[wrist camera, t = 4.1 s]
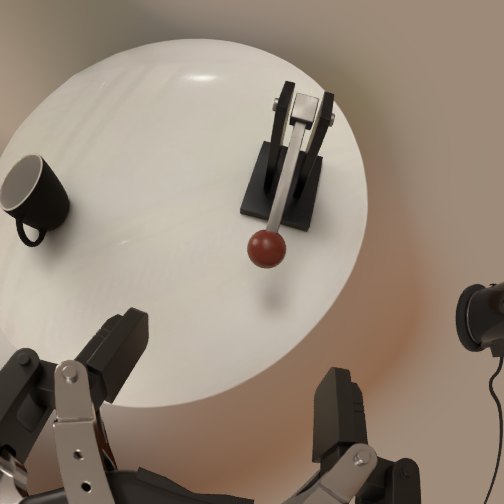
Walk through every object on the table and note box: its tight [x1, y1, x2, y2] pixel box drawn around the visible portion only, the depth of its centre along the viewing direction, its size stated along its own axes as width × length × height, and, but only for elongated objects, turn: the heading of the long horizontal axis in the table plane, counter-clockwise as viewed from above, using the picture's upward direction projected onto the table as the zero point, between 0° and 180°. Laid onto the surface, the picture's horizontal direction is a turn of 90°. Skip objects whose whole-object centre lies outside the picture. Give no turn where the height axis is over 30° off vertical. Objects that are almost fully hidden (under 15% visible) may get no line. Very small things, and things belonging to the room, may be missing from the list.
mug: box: [0, 153, 69, 247], centre depth 29 cm, size 12×9×10 cm
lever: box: [247, 93, 319, 268], centre depth 25 cm, size 17×4×4 cm, turn 164°
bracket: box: [240, 81, 335, 232], centre depth 30 cm, size 12×9×16 cm
